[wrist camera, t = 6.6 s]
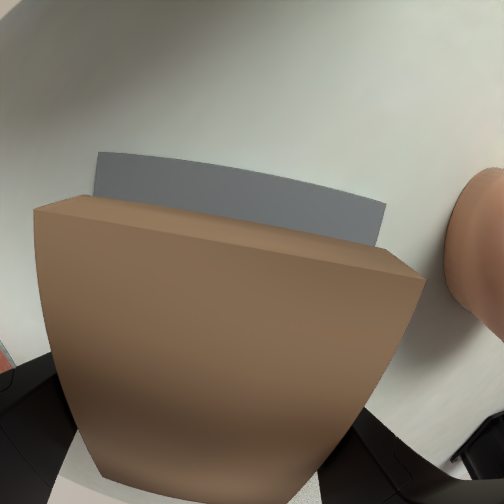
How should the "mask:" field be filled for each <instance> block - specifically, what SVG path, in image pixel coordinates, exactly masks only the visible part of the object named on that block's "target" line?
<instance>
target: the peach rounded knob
mask: <svg viewBox="0 0 504 504" xmlns="http://www.w3.org/2000/svg"><path fill="white" fill-rule="evenodd" d="M444 271H445V278H446V283H447V286H448V288H449V291H450V293H451V295H452V296H453V297H454V299H455V300H456V301H457V302H458V303H460V304H461V305H462V306H463V307H464V308H466V309H467V310H468V311H469V312H470V313H471V314H473V315H474V316H475V317H476V318H477V319H478V320H480V321H481V322H482V323H483V324H484V325H485V326H486V327H488V328H489V329H490V330H491V331H492V332H493V333H494V334H495V335H496V336H497V337H499V338H500V339H501V340H502V341H503V342H504V169H502V168H488V169H485V170H483V171H481V172H479V173H478V174H477V175H475V176H474V177H473V178H472V179H471V180H470V181H469V183H468V184H467V185H466V187H465V188H464V190H463V191H462V193H461V195H460V197H459V199H458V201H457V203H456V205H455V208H454V210H453V213H452V216H451V219H450V222H449V226H448V230H447V235H446V241H445V250H444Z"/></svg>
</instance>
